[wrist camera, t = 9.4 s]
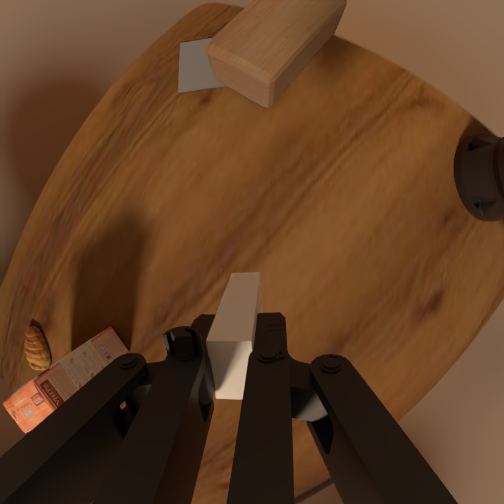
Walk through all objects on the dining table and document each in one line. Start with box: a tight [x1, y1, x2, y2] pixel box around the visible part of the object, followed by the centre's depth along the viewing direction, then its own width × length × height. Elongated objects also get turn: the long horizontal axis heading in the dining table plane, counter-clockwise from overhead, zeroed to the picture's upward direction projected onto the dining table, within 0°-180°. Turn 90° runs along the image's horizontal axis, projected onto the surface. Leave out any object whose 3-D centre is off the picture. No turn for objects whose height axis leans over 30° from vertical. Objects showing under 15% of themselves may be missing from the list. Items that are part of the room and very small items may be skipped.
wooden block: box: [205, 0, 346, 108], centre depth 32 cm, size 10×10×20 cm
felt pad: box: [178, 38, 226, 93], centre depth 37 cm, size 12×10×1 cm
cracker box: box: [3, 326, 129, 433], centre depth 34 cm, size 14×6×21 cm, turn 124°
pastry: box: [24, 326, 51, 370], centre depth 44 cm, size 9×7×4 cm
